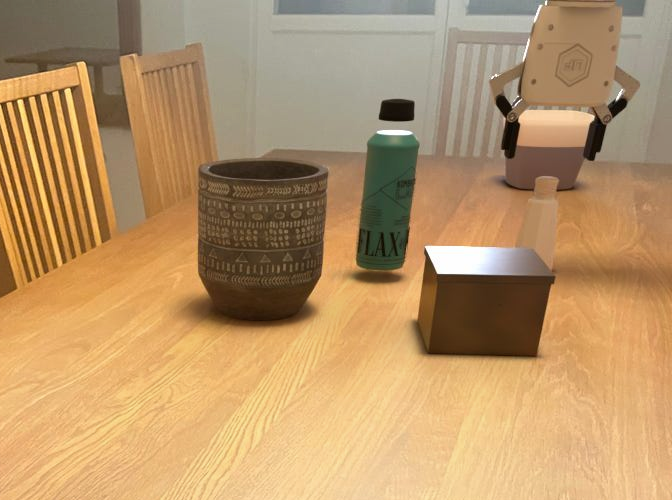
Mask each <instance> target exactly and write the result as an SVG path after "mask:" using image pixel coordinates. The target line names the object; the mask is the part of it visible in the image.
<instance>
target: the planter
mask: <svg viewBox="0 0 672 500" xmlns="http://www.w3.org/2000/svg"><path fill="white" fill-rule="evenodd" d="M329 170H330V169H329V167H328V166H326V165H324V164H321V163H317V162H314V161H307V160H301V159H295V158H283V157H281V158H280V157H247V158H245V157H244V158H231V159H230V158H229V159H221V160H216V161H210V162H206V163H202V164H201V165H199V167H198V169H197V175H198V176H197V177H198V179H197V181H198V183H197V187H198V190H197V235H198V238H197V274H198V277H199V279H200V281H201V283H202V285H203V286H204V289H205V291H206V292H207V294H208V296H209V298H210V299H211V301H212V302H213V304H214V306H215V307H216V309H217V311H219V312H220V314H223V315H225V316H227V317H230V318H234V319H238V320H246V321H274V320H281V319H286V318H289V317H292V316H294V315H296V314H297V313H299V312H300V310H301V309H302V307H303V306H304V305H305V304H306V302H307V300H308V299H309V297H310V296H311V294H312V292H313V291H314V289H315V288H316V286H317V284H318V283H319V281H320V280H321V279H320V278H321V276H322V273H323V265H324V251H325V249H324V248H325V232H326V231H325V230H326V220H327V207H328V186H329V173H330V171H329Z"/></svg>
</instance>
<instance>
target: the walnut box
mask: <svg viewBox="0 0 672 500" xmlns="http://www.w3.org/2000/svg"><path fill="white" fill-rule="evenodd" d="M423 255H424V256H425V258H424V265H423V273H422V280H421V281H422V282H421V289H420V296H419V305H418V312H417V320H416V321H417V324H418V328H419V331H420V333H421V336H422V339H423V343H424V346H425V348H426V352H427V353H428V354H444V355H446V354H447V355H477V356H478V355H481V356H485V355H487V356H515V357H516V356H519V357H520V356H522V357H537V356H538V352H539V346H540V341H541V336H542V332H543V326H544V322H545V318H546V312H547V307H548V303H549V297H550V293H551V288H552V285H555V282H556V278H557V277H556V275H555V273H554V272H553V271H552V270H550V269H549V267H548V266H547V265H546V264H545V263H544V261H543V260H542V259H541V258H540V257H539V255H538V254H537V253H536V252H535V250H534V249H533V248H514V247H511V246H510V247H509V246H508V247H506V246H505V247H504V246H502V247H501V246H456V245H455V246H453V245H449V246H448V245H424V249H423Z"/></svg>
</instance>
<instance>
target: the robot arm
mask: <svg viewBox="0 0 672 500" xmlns="http://www.w3.org/2000/svg"><path fill="white" fill-rule="evenodd" d="M616 3H617V0H546V1H545V4H540V5H539V7H538V9H537V12H536V15H535V17H534V20H533V23H532V26H531V30H530V33H529V37H528V41H527V44H526V48H525V52H524V55H523V59H522V61H520V62H519V63H517V64H515V65H513V66H511V67H509V68H507V69H505V70H503V71H501V72H499V73H497V74H495V75H494V76H491V77H490V78H489V80H488V85H489V89H490V92H491V96H492V98H493V103H494V105H495V106H496V107H497V109H498V111H499V112H500V113H501V115H502V116H503V118H505V119H506V121H505V126H504V125H503V133H502V137H501V143H500V150H501V151H504V152H503V156H504V158H505V157H506V158H507V159H512V158H514V156H515V151H516V146H517V140H518V135H519V130H520V123H519V122H518V120H519V116H520V115H521V114H522V113H523V112H524V111H525V110H528V108H529V107H530V106H536V107H537V106H538V107H563V108H564V107H565V108H566V107H567V108H569V107H571V108H590V110H591V112H592V113H593V116H595V118H594V121H592V122H591V123H590V125H589V130H588V134H587V139H586V143H585V148H584V152H583V157H585V159H586V160H587V161H589V162H594V161H595V160H596V156H597V154H598V153H601V151H602V147H603V143H604V139H605V134H606V130H607V127H608V125H609V124H610V123H612V121H613V119H614V118H616V116H618V115H619V114H620V113H621V112H622V111H623V110H625V109H626V108H627V106H628V103H630V101H631V100H632V99H633V97H634V96H635V94H636V93H637V92H638V90H639V89H640V87H641V82H640V81H639V80H637V79H636V78H635V77H633V76H632V75H630V74H629V73H627V71H625V70H623V69H622V68H620V67H619V66H618V65H617V60H618V56H619V49H620V48H619V47H620V40H621V33H622V22H623V6H620V5H619V6H617V5H616ZM517 79H518V82H517V91H516V92H517V96H516V97H515V99H514V100H513V101H512V102H511V103H510V101H509V100H508V98H507V97H506V95H505V89H504V88H505V86H506V85H507V84H509V83H511V82H513V81H515V80H517ZM614 82H616V83H617V84H618V85H619V86H621V91H620V92H619V94H618V96H617V97H616V98H615V99H613V100H612V101H611V102H609V104H608V105H607V102H608V100H609V98H610V96H611V93H612V88H613V84H614Z"/></svg>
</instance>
